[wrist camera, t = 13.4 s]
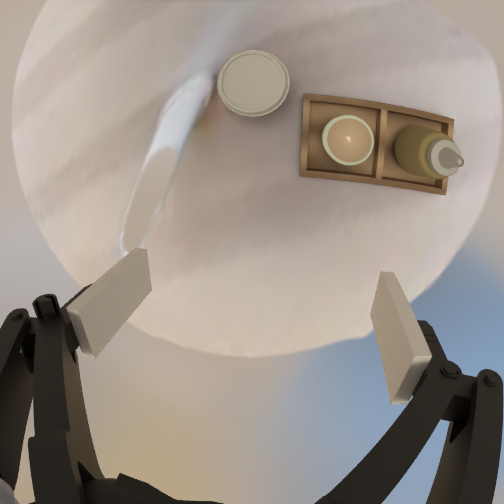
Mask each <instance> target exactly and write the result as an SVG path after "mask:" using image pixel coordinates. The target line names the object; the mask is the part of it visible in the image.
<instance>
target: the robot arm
mask: <svg viewBox="0 0 504 504" xmlns="http://www.w3.org/2000/svg"><path fill="white" fill-rule="evenodd" d="M151 291H152V286H151V279H150V272H149V264H148V256H147V249H141V248H135V249H134V250H133V251H131V252H130V253H129V254H128V255H126V256H125V257H124V258H123V259H122V260H120V261H119V262H118V263H117V264H116V265H114V266H113V267H112V268H111V269H110V270H108V271H107V272H106V273H105V274H104V275H103V276H101V277H100V278H99V279H98V280H97V281H96V282H94V283H93V284H90V285H88V286H86V287H84V288H83V289H82V290H81V291H80V292H78V294H76V295H75V296H74V298H72V299H70V300H69V301H68V302H67V303H66V304H65V305H64V306H63V307H61V308H60V307H59V304H58V301H57V298H56V296H55V295H54V294H45V295H42V296H39V297H38V298H36V299H35V300H34V301H33V303H32V304H33V307H34V310H35V313H36V316H37V318H33V317H30V316H29V314H28V311H27V310H26V309H24V308H20V309H16V310H13V311H12V312H11V313H9V315H8V316H7V318H6V319H5V321H4V323H3V325H2V327H1V328H0V504H19V503H18V501H17V500H16V499H15V498H14V493H13V492H14V489H15V485H16V482H17V478H18V472H19V465H20V458H21V452H22V446H23V440H24V434H25V429H26V424H27V420H28V415H29V411H30V407H31V403H32V399H33V406H34V429H35V436H34V437H30V438H29V439H28V451H29V461H30V470H31V477H32V483H33V490H34V496H35V501H36V502H33V503H30V504H223V503H218V502H213V501H183V500H176V499H173V498H172V497H170V496H168V495H166V494H164V493H163V492H161V491H159V490H158V489H156V488H154V487H153V486H151V485H149V484H148V483H145V482H142V481H140V480H137V479H134V478H132V477H129V476H126V475H124V474H121V473H120V474H119V476H118V477H117V479H114V478H104V476H103V474H102V472H101V470H100V468H99V465H98V461H97V458H96V454H95V450H94V446H93V442H92V438H91V434H90V429H89V424H88V420H87V415H86V410H85V404H84V399H83V393H82V386H81V380H80V373H79V365H78V356H77V353H76V351H75V350H76V349H77V348H78V347H79V346H80V348H81V351H82V354H83V355H85V356H88V357H91V358H93V359H95V358H96V357H97V356H98V355H99V353H100V352H101V351H102V350H103V348H104V347H105V346H106V345H107V343H108V342H109V341H110V340H111V338H112V337H113V336H114V335H115V334H116V332H117V331H118V330H119V329H120V327H121V326H122V325H123V324H124V323H125V321H126V320H127V319H128V318H129V317H130V315H131V314H132V313H133V312H134V311H135V310H136V308H137V307H138V306H139V305H140V304H141V302H142V301H143V300H144V299H145V298H146V297H147V295H148V294H149V293H150V292H151ZM370 315H371V319H372V323H373V327H374V331H375V334H376V339H377V343H378V347H379V351H380V355H381V360H382V364H383V368H384V373H385V378H386V382H387V387H388V392H389V397H390V403H391V404H407V403H408V401H409V399H410V397H411V396H412V395H413V398H412V400H411V401H410V402H409V404H408V405H407V406H406V408H405V409H404V410H403V412H402V413H401V415H400V416H399V417H398V418H397V420H396V421H395V422H394V423H393V425H392V426H391V427H390V428H389V430H388V431H387V432H386V433H385V435H384V436H383V437H382V438H381V439H380V440H379V442H378V443H377V444H376V445H375V446H374V447H373V449H372V450H371V451H370V452H369V453H368V454H367V455H366V456H365V457H364V459H363V460H362V461H361V462H360V463H359V464H358V465H357V466H356V467H355V468H354V469H353V470H352V471H351V472H350V473H349V474H348V475H347V476H346V477H345V478H344V479H343V480H342V481H341V482H340V483H339V484H338V485H337V486H336V487H335V488H334V489H333V490H332V491H331V492H329V493H328V494H327V495H325V496H323V497H322V498H321V499H319V500H318V501H317V502H316V503H315V504H381V503H382V502H383V501H384V500H385V498H386V497H387V496H388V495H389V494H390V493H391V491H392V490H393V489H394V488H395V486H396V485H397V484H398V482H399V481H400V480H401V478H402V477H403V476H404V474H405V473H406V472H407V470H408V469H409V468H410V466H411V465H412V463H413V462H414V460H415V459H416V458H417V456H418V455H419V453H420V452H421V450H422V449H423V447H424V445H425V444H426V442H427V441H428V439H429V438H430V436H431V434H432V433H433V431H434V429H435V428H436V426H437V424H438V422H439V421H440V419H442V420H447V421H450V423H449V427H448V432H447V436H446V440H445V444H444V448H443V452H442V456H441V459H440V463H439V466H438V470H437V473H436V476H435V479H434V482H433V485H432V488H431V491H430V494H429V496H428V499H427V502H426V504H492V501H493V496H494V491H495V486H496V480H497V474H498V467H499V459H500V451H501V440H502V426H503V382H502V379H501V377H500V376H499V375H498V374H497V373H496V372H494V371H492V370H489V369H484V370H482V371H480V372H479V374H478V375H477V377H473V376H468V375H464V374H462V372H461V369H460V368H459V367H458V365H456V364H455V363H453V362H451V361H448V360H447V358H446V356H445V353H444V351H443V349H442V347H441V345H440V343H439V342H438V341H439V340H438V338H437V336H436V334H435V332H434V330H433V328H432V327H431V326H430V325H429V324H428V323H427V322H426V321H420V320H416V317H415V315H414V313H413V311H412V309H411V307H410V304H409V302H408V300H407V298H406V296H405V294H404V292H403V290H402V288H401V286H400V284H399V282H398V280H397V278H396V276H395V274H394V273H392V272H381V273H380V277H379V281H378V286H377V290H376V294H375V298H374V302H373V306H372V309H371V313H370ZM20 351H21V353H20Z"/></svg>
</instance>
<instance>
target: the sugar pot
mask: <svg viewBox="0 0 504 504" xmlns="http://www.w3.org/2000/svg"><path fill="white" fill-rule="evenodd" d="M321 143H322V146H323V148H324V149H325V151H326V152H327V153H328V154H329V155H330V156H331V157H332V158H333V159H334V160H335V161H337V162H338V163H341V164H344V165H357V164H359V163H362V162H363V161H365V160H366V159H367V158H368V157H369V156H370V154H371V152H372V150H373V146H374V137H373V133H372V131H371V129H370V127H369V126H368V125H367V123H366V122H364V121H363V120H362V119H360V118H358V117H356V116H352V115H343V116H339V117H336V118H333V119H331V120H329V121H328V122H327V123H326V124H325V125H324V127H323V129H322V131H321Z"/></svg>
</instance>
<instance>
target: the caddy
mask: <svg viewBox="0 0 504 504" xmlns="http://www.w3.org/2000/svg"><path fill="white" fill-rule="evenodd" d="M343 115H352V116H356V117H358V118H360V119H362V120H363V121H364V122H366V123H367V125H368V126H369V127H370V129H371V131H372V133H373V137H374V146H373V150H372V152H371V154H370V156H369V157H368V158H367V159H366V160H365V161H363V162H362V163H359V164H357V165H344V164H341V163H338V162H337V161H335V160H334V159H333V158H332V157H331V156H330V155H329V154H328V153H327V152H326V151H325V149H324V148H323V146H322V143H321V131H322V129H323V127H324V125H325V124H326V123H327V122H328V121H329V120H331V119H333V118H336V117H339V116H343ZM411 125H421V126H424V127H427V128H430V129H434V130H437V131H440V132H442V133H444V134H446V135H448V136H449V137H450V138H451V139H452V140H453V128H454V119H451V118H448V117H444V116H440V115H436V114H432V113H428V112H424V111H420V110H415V109H411V108H406V107H401V106H396V105H390V104H385V103H379V102H373V101H367V100H360V99H353V98H345V97H336V96H327V95H316V94H303V120H302V142H301V160H300V176H302V177H314V178H324V179H334V180H343V181H352V182H361V183H369V184H376V185H384V186H391V187H398V188H404V189H411V190H417V191H423V192H429V193H435V194H440V195H446V190H447V183H448V177H447V178H445V179H431V178H426V177H421V176H416V175H413V174H411V173H408V172H406V171H405V170H404V169H403V168H402V167H401V166H400V164H399V162H398V160H397V158H396V155H395V143H396V139H397V136H398V135H399V134H400V132H401V131H402V130H403V129H405V128H407V127H409V126H411Z"/></svg>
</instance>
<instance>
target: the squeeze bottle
mask: <svg viewBox="0 0 504 504" xmlns="http://www.w3.org/2000/svg"><path fill="white" fill-rule="evenodd" d="M395 155H396V158H397V160H398V162H399V164H400V166H401V167H402V168H403V169H404V170H405V171H406V172H408V173H411V174H413V175H416V176H421V177H426V178H431V179H445V178H447V177H448V176H451V175H453V174H454V173H456V172H457V170H458V169H459V167H461V166H463V164H464V160H463V158H462V157H461V153H460V151H459V148H458V147H457V146H456V144H455V143H454V141H453V140H452V139H451V138H450V137H449V136H448V135H446V134H444V133H442V132H440V131H437V130H434V129H430V128H427V127H424V126H421V125H411V126H409V127H407V128H405V129H403V130H402V131H401V132H400V134H399V135H398V136H397V139H396V143H395Z"/></svg>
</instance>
